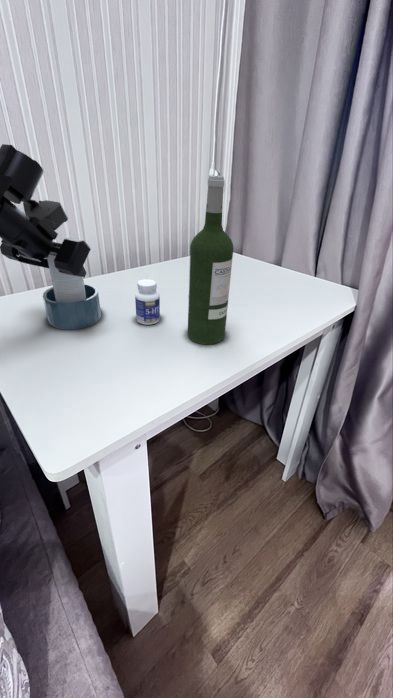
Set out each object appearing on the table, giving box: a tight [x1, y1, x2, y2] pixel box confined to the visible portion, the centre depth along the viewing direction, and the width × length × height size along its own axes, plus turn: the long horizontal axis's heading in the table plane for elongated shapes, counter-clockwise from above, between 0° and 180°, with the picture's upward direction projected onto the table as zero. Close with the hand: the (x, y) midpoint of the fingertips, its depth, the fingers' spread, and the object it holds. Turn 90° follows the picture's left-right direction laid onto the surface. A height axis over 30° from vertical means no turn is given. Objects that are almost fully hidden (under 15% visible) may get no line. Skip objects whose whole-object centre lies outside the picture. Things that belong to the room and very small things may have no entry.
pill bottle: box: [134, 278, 161, 326], centre depth 73 cm, size 5×5×9 cm
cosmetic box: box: [47, 255, 86, 303], centre depth 69 cm, size 6×4×12 cm
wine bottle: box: [187, 175, 234, 346], centre depth 62 cm, size 8×8×30 cm
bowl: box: [42, 282, 102, 330], centre depth 73 cm, size 11×11×6 cm
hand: (72, 271), depth 70 cm, fingers closed on cosmetic box, 7 cm apart
